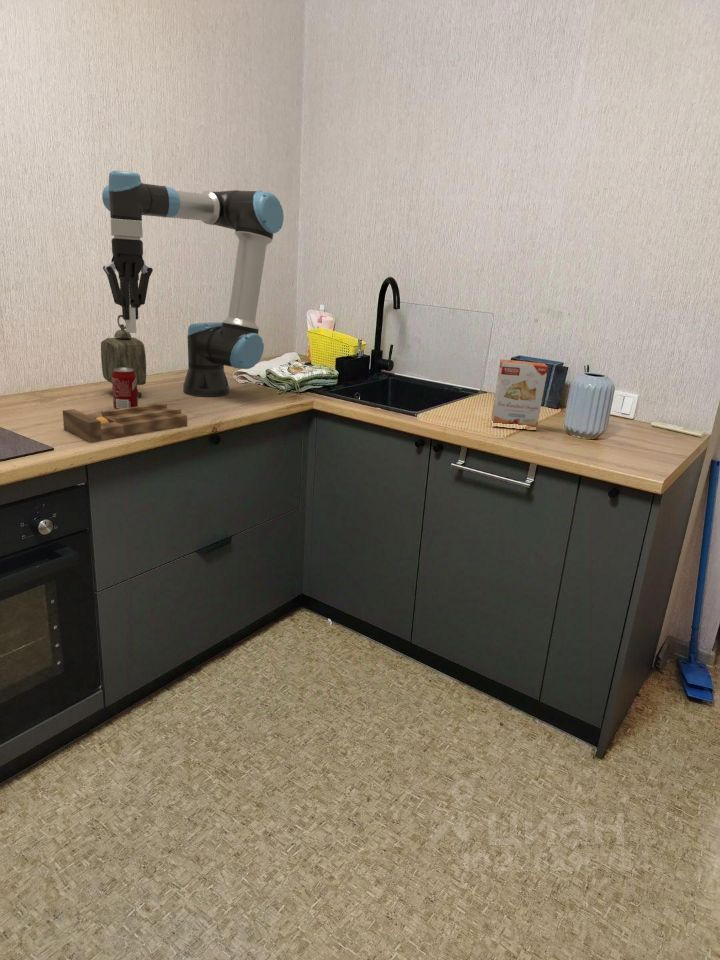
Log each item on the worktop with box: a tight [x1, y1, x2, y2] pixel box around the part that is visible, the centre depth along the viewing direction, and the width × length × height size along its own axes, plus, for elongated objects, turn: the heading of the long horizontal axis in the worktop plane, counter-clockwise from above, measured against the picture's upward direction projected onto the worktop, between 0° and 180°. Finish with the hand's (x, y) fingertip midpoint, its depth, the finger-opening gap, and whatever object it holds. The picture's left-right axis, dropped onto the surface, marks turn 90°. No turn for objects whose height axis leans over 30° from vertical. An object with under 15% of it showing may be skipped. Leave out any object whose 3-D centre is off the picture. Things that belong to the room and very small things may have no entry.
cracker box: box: [490, 359, 549, 428], centre depth 204 cm, size 14×6×21 cm, turn 86°
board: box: [62, 402, 188, 443], centre depth 174 cm, size 28×14×5 cm, turn 138°
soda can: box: [111, 368, 139, 410], centre depth 190 cm, size 7×7×12 cm
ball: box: [96, 417, 109, 424], centre depth 169 cm, size 4×4×4 cm
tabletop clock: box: [100, 314, 147, 398], centre depth 205 cm, size 14×9×25 cm, turn 40°
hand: (131, 332), depth 174 cm, fingers closed
